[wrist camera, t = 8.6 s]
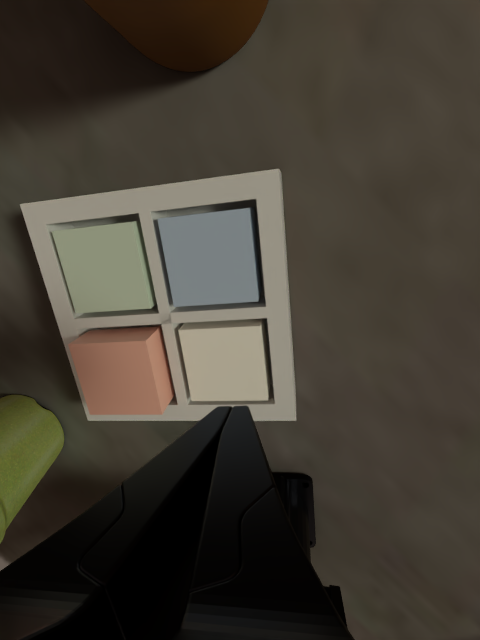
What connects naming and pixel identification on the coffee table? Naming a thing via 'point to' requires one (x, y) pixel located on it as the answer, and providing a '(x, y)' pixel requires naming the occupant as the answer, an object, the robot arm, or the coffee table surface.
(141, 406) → the key coral
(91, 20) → the coffee table surface
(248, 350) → the key cream
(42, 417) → the plant pot
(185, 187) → the keypad
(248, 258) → the key slate
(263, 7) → the mug
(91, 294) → the key sage
